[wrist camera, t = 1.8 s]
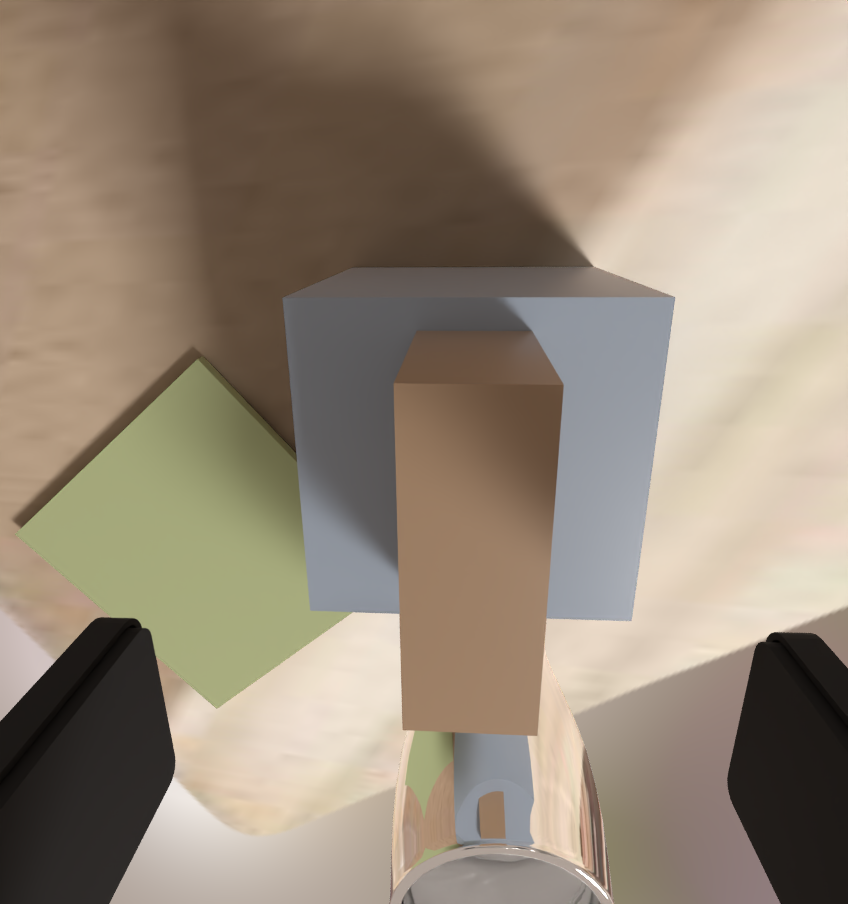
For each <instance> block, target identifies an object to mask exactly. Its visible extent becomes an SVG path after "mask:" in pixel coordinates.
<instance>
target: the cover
mask: <svg viewBox="0 0 848 904" xmlns="http://www.w3.org/2000/svg"><path fill="white" fill-rule="evenodd" d="M674 302H675V297H673V296H670V295H668V294H665V293H662V292H660V291H657V290H654V289H652V288H649V287H646V286H644V285H641V284H638V283H636V282H633V281H630V280H628V279H625V278H623V277H620V276H617V275H615V274H612V273H609V272H607V271H604V270H601V269H599V268H596V267H359V268H350V269H348V270H345V271H343V272H341V273H338V274H336V275H334V276H331V277H329V278H327V279H325V280H322V281H320V282H318V283H315V284H313V285H311V286H308V287H306V288H304V289H301V290H299V291H297V292H294V293H292V294H290V295H287V296H285V297H283V309H284V320H285V331H286V342H287V354H288V365H289V376H290V388H291V399H292V410H293V422H294V433H295V444H296V456H297V467H298V478H299V490H300V501H301V512H302V524H303V535H304V546H305V558H306V569H307V580H308V592H309V603H310V611H334V612H365V613H396V614H400V647H401V685H402V723H403V730H411V731H434V732H456V733H479V734H501V735H524V736H537V735H538V722H539V708H540V695H541V682H542V669H543V655H544V642H545V629H546V618H551V619H582V620H613V621H632V614H633V606H634V599H635V591H636V584H637V577H638V569H639V562H640V554H641V547H642V539H643V532H644V525H645V517H646V510H647V502H648V495H649V488H650V480H651V473H652V465H653V458H654V451H655V443H656V436H657V428H658V421H659V413H660V406H661V399H662V391H663V384H664V376H665V369H666V362H667V354H668V347H669V339H670V332H671V324H672V317H673V310H674Z"/></svg>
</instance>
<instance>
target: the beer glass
mask: <svg viewBox="0 0 848 904" xmlns="http://www.w3.org/2000/svg"><path fill="white" fill-rule="evenodd" d="M546 619H547V618H546ZM545 632H546V629H545ZM603 827H604V826H603V820H602V815H601V810H600V805H599V799H598V794H597V789H596V785H595V781H594V777H593V773H592V770H591V766H590V762H589V759H588V754H587V751H586V748H585V745H584V743H583V740H582V738H581V735H580V732H579V730H578V727H577V724H576V722H575V719H574V716H573V714H572V712H571V710H570V708H569V705H568V703H567V701H566V699H565V696H564V694H563V692H562V690H561V688H560V686H559V684H558V681H557V679H556V677H555V675H554V673H553V671H552V668H551V666H550V664H549V661H548V659H547V656H546V652H545V642H544V655H543V669H542V682H541V695H540V708H539V722H538V735H537V736H524V735H501V734H479V733H456V732H434V731H411V730H407V733H406V737H405V740H404V744H403V748H402V752H401V758H400V764H399V770H398V776H397V783H396V791H395V803H394V813H393V827H392V851H391V887H390V903H389V904H614V899H613V893H612V886H611V878H610V870H609V862H608V854H607V847H606V840H605V833H604V828H603Z"/></svg>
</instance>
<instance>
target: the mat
mask: <svg viewBox="0 0 848 904" xmlns="http://www.w3.org/2000/svg"><path fill="white" fill-rule="evenodd" d="M15 535H17V536H18V537H19V538H20V539H21V540H22V541H24V542H25V543H26V544H27V545H28V546H29V547H30V548H32V549H33V550H34V551H35V552H36V553H37V554H39V555H40V556H41V557H42V558H43V559H44V560H45V561H47V562H48V563H49V564H50V565H51V566H52V567H54V568H55V569H56V570H57V571H58V572H59V573H60V574H62V575H63V576H64V577H65V578H66V579H67V580H69V581H70V582H71V583H72V584H73V585H74V586H76V587H77V588H78V589H79V590H80V591H81V592H82V593H84V594H85V595H86V596H87V597H88V598H89V599H91V600H92V601H93V602H94V603H95V604H96V605H97V606H99V607H100V608H101V609H102V610H103V611H104V612H106V613H107V614H108V615H109V616H110V617H111V618H135V619H137V620H138V621H139V622H140V623H141V626H142V628H147V629H149V631H150V632H151V635H152V639H153V645H154V650H155V655H156V657H158V658H159V659H160V660H161V661H162V662H163V663H165V664H166V665H167V666H168V667H169V668H170V669H171V670H173V671H174V672H175V673H176V674H177V675H178V676H180V677H181V678H182V679H183V680H184V681H185V682H186V683H188V684H189V685H190V686H191V687H192V688H193V689H195V690H196V691H197V692H198V693H199V694H200V695H202V696H203V697H204V698H205V699H206V700H207V701H208V702H210V703H211V704H212V705H213V706H214V707H215V708H219V707H220V706H221V705H223V704H224V703H226V702H227V701H228V700H230V699H231V698H233V697H234V696H235V695H237V694H238V693H240V692H241V691H243V690H244V689H245V688H247V687H248V686H250V685H251V684H252V683H254V682H255V681H257V680H258V679H259V678H261V677H262V676H264V675H265V674H266V673H268V672H269V671H271V670H272V669H274V668H275V667H276V666H278V665H279V664H281V663H282V662H283V661H285V660H286V659H288V658H289V657H290V656H292V655H293V654H295V653H296V652H297V651H299V650H300V649H302V648H303V647H304V646H306V645H307V644H309V643H310V642H312V641H313V640H314V639H316V638H317V637H319V636H320V635H321V634H323V633H324V632H326V631H327V630H328V629H330V628H331V627H333V626H334V625H335V624H337V623H338V622H340V621H341V620H343V619H344V618H345V617H347V616H348V615H350V614H351V613H352V612H334V611H310V603H309V592H308V580H307V569H306V558H305V546H304V535H303V524H302V512H301V501H300V490H299V478H298V467H297V456H296V453H295V452H294V451H293V450H292V448H291V447H290V446H289V445H288V444H287V443H286V442H285V441H284V440H283V439H282V438H281V437H280V436H279V435H278V434H277V433H276V432H275V431H274V430H273V429H272V428H271V427H270V426H269V425H268V423H267V422H266V421H265V420H264V419H263V418H262V417H261V416H260V415H259V414H258V413H257V412H256V411H255V410H254V409H253V408H252V407H251V406H250V405H249V404H248V403H247V402H246V401H245V400H244V398H243V397H242V396H241V395H240V394H239V393H238V392H237V391H236V390H235V389H234V388H233V387H232V386H231V385H230V384H229V383H228V382H227V381H226V380H225V379H224V378H223V377H222V376H221V375H220V373H219V372H218V371H217V370H216V369H215V368H214V367H213V366H212V365H211V364H210V363H209V362H208V361H207V360H206V359H205V358H204V357H203V356H202V357H200V358H199V359H197V360H196V361H195V362H194V363H193V364H192V365H191V366H190V367H189V368H188V369H187V370H186V371H184V372H183V373H182V374H181V375H180V376H179V377H178V378H177V379H176V380H175V381H174V382H173V383H172V384H171V385H170V386H169V387H168V388H167V389H166V390H165V391H164V392H163V393H162V394H161V395H160V396H158V397H157V398H156V399H155V400H154V401H153V402H152V403H151V404H150V405H149V406H148V407H147V408H146V409H145V410H144V411H143V412H142V413H141V414H140V415H139V416H138V417H137V418H136V419H135V420H134V421H132V422H131V423H130V424H129V425H128V426H127V427H126V428H125V429H124V430H123V431H122V432H121V433H120V434H119V435H118V436H117V437H116V438H115V439H114V440H113V441H112V442H111V443H110V444H109V445H107V446H106V447H105V448H104V449H103V450H102V451H101V452H100V453H99V454H98V455H97V456H96V457H95V458H94V459H93V460H92V461H91V462H90V463H89V464H88V465H87V466H86V467H85V468H84V469H83V470H81V471H80V472H79V473H78V474H77V475H76V476H75V477H74V478H73V479H72V480H71V481H70V482H69V483H68V484H67V485H66V486H65V487H64V488H63V489H62V490H61V491H60V492H59V493H58V494H57V495H55V496H54V497H53V498H52V499H51V500H50V501H49V502H48V503H47V504H46V505H45V506H44V507H43V508H42V509H41V510H40V511H39V512H38V513H37V514H36V515H35V516H34V517H33V518H32V519H30V520H29V521H28V522H27V523H26V524H25V525H24V526H23V527H22V528H21V529H20V530H19V531H18V532H17V533H16V534H15Z"/></svg>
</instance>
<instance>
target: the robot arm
mask: <svg viewBox="0 0 848 904" xmlns="http://www.w3.org/2000/svg"><path fill="white" fill-rule="evenodd" d="M174 770H175V754H174V749H173V743H172V738H171V733H170V728H169V723H168V717H167V712H166V707H165V702H164V697H163V691H162V686H161V681H160V676H159V671H158V665H157V660H156V655H155V650H154V645H153V639H152V635H151V632H150V631H149V629H147V628H142V626H141V623H140V622H139V621H138V620H137V619H135V618H104V617H101V618H97V619H95V620H94V621H93V622H91V623H90V624H89V626H88V627H87V628H86V629H85V630H84V631H83V632H82V633H81V634H80V635H79V636H78V638H77V639H76V640H75V641H74V642H73V643H72V644H71V645H70V646H69V647H68V648H67V649H66V651H65V652H64V653H63V654H62V655H61V656H60V657H59V658H58V659H57V660H56V661H55V663H54V664H53V665H52V666H51V667H50V668H49V669H48V670H47V671H46V673H45V674H44V675H43V676H42V677H41V678H40V679H39V680H38V681H37V682H36V683H35V684H34V685H33V687H32V688H31V689H30V690H29V691H28V692H27V693H26V694H25V695H24V696H23V697H22V698H21V700H20V701H19V702H18V703H17V704H16V705H15V706H14V707H13V708H12V709H11V710H10V712H9V713H8V714H7V715H6V716H5V717H4V718H3V719H2V720H1V721H0V904H109V903H110V901H111V899H112V897H113V895H114V893H115V891H116V889H117V887H118V885H119V883H120V881H121V880H122V878H123V876H124V874H125V872H126V870H127V868H128V866H129V864H130V862H131V860H132V858H133V856H134V854H135V852H136V850H137V848H138V846H139V844H140V842H141V840H142V838H143V836H144V834H145V832H146V831H147V828H148V827H149V824H150V823H151V821H152V819H153V817H154V815H155V813H156V811H157V809H158V807H159V805H160V803H161V801H162V799H163V797H164V795H165V793H166V791H167V789H168V787H169V785H170V783H171V781H172V778H173V774H174ZM727 779H728V780H727V781H728V790H729V795H730V799H731V801H732V804H733V806H734V808H735V810H736V812H737V814H738V816H739V818H740V820H741V822H742V825H743V827H744V829H745V831H746V832H747V835H748V837H749V839H750V841H751V843H752V845H753V847H754V849H755V851H756V854H757V855H758V858H759V860H760V862H761V864H762V866H763V868H764V870H765V872H766V874H767V876H768V878H769V881H770V883H771V884H772V887H773V889H774V891H775V893H776V895H777V897H778V899H779V901H780V903H781V904H848V668H847V667H846V666H845V665H844V664H843V663H842V661H841V660H839V658H838V657H837V656H836V655H835V653H834V652H833V651H832V650H831V649H830V648H829V647H828V646H827V645H826V644H825V642H824V641H823V640H822V639H821V638H820V637H818V636H817V635H816V634H812V633H782V632H774V633H771V634H770V635H769V636H768V637H767V640H766V642H760V643H758V645H757V646H756V648H755V651H754V656H753V661H752V666H751V670H750V675H749V680H748V684H747V689H746V693H745V698H744V702H743V707H742V711H741V716H740V721H739V726H738V730H737V735H736V739H735V744H734V749H733V753H732V758H731V762H730V767H729V772H728V778H727Z"/></svg>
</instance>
